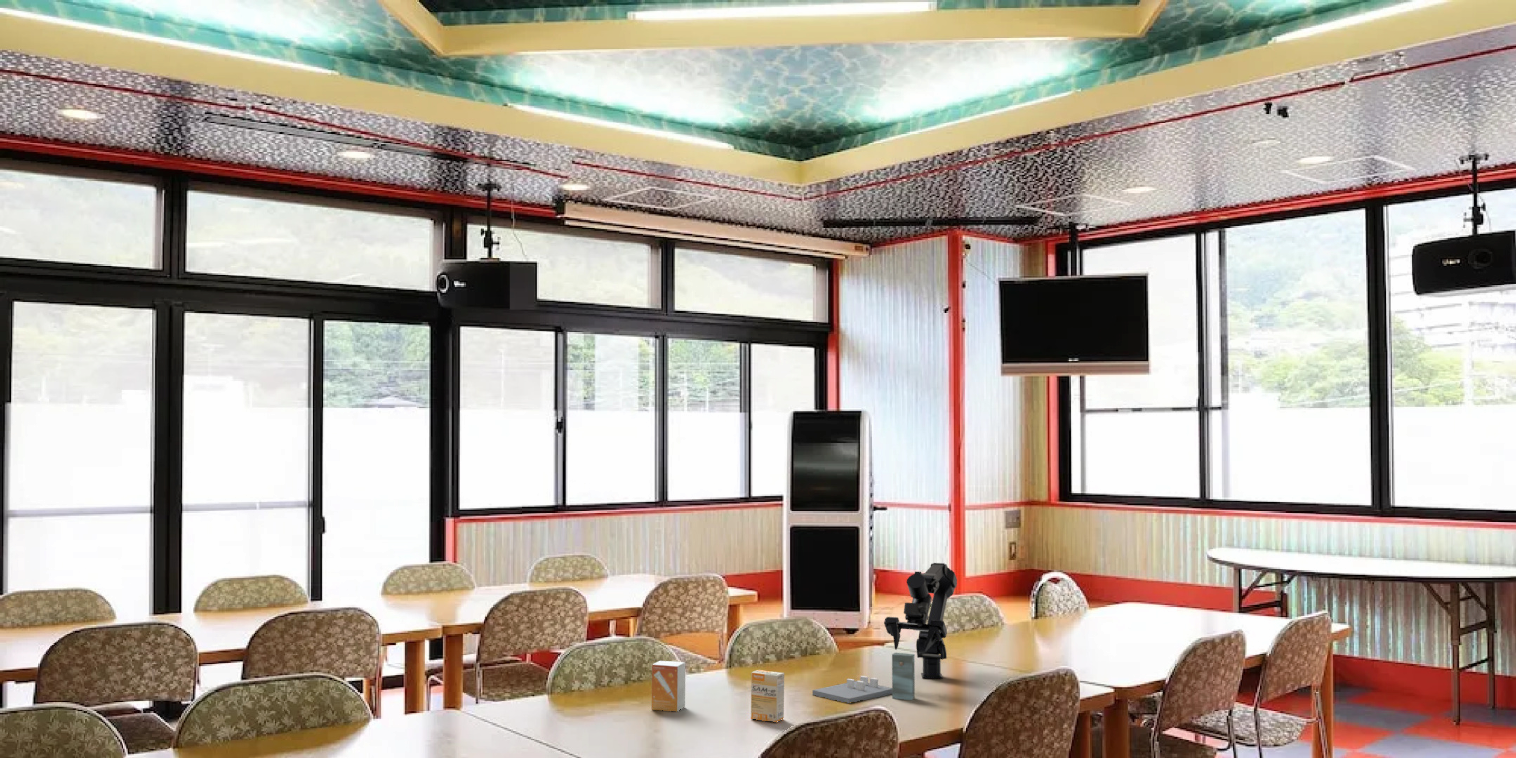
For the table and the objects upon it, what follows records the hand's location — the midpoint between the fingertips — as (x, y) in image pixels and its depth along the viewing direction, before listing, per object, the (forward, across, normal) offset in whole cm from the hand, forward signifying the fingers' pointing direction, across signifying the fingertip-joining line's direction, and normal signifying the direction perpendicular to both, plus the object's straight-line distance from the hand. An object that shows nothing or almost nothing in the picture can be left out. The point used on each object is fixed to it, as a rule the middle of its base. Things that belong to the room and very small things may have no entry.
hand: (910, 649), depth 354 cm
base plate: (+15, -15, +3) cm, 22 cm away
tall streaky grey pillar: (+14, 0, +4) cm, 15 cm away
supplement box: (+43, -27, -24) cm, 56 cm away
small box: (+43, -58, -24) cm, 76 cm away
